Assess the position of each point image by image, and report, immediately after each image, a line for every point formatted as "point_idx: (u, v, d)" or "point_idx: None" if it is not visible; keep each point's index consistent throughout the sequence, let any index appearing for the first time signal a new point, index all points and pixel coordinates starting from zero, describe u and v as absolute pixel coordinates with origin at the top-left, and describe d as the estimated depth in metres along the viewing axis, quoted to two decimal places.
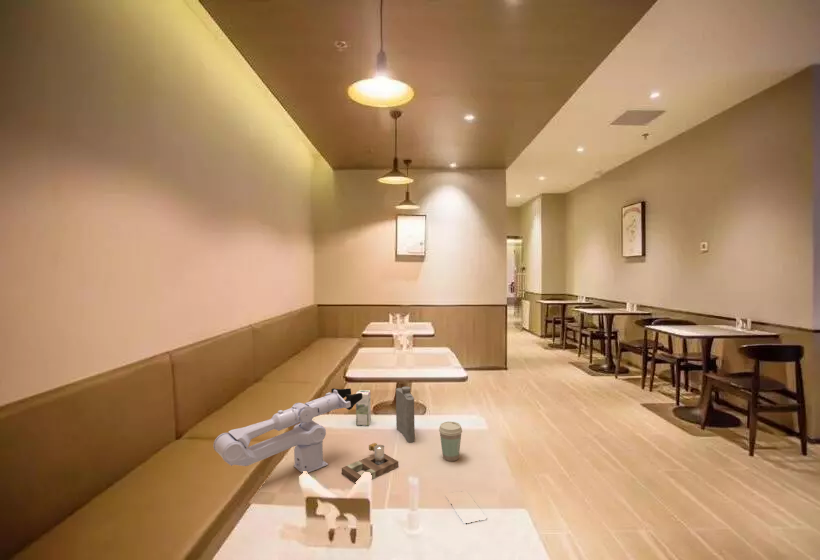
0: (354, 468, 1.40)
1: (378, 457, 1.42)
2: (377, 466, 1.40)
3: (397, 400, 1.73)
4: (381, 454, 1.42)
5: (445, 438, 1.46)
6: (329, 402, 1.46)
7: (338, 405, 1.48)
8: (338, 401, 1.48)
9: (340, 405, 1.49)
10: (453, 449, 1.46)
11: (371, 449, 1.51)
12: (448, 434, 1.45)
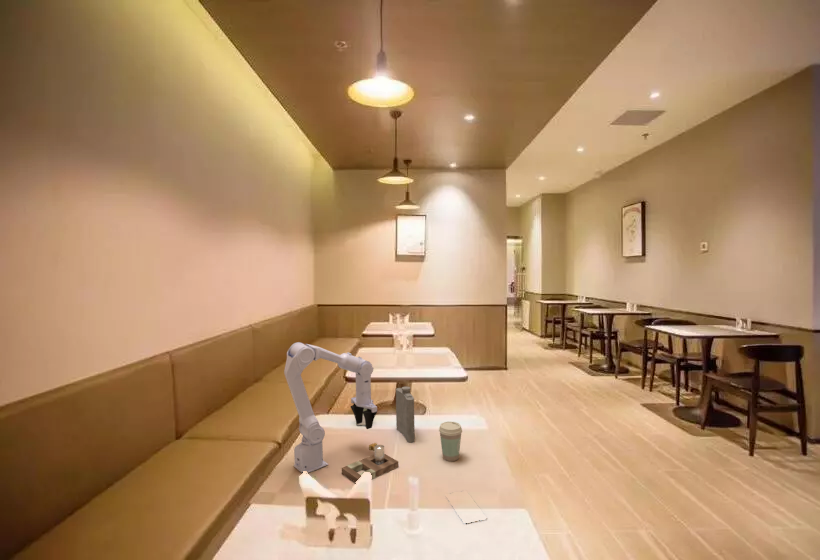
0: (354, 468, 1.40)
1: (378, 457, 1.42)
2: (377, 466, 1.40)
3: (397, 400, 1.73)
4: (381, 454, 1.42)
5: (445, 438, 1.46)
6: (370, 392, 1.54)
7: (365, 403, 1.53)
8: (369, 402, 1.54)
9: (365, 405, 1.53)
10: (453, 449, 1.46)
11: (371, 449, 1.51)
12: (448, 434, 1.45)
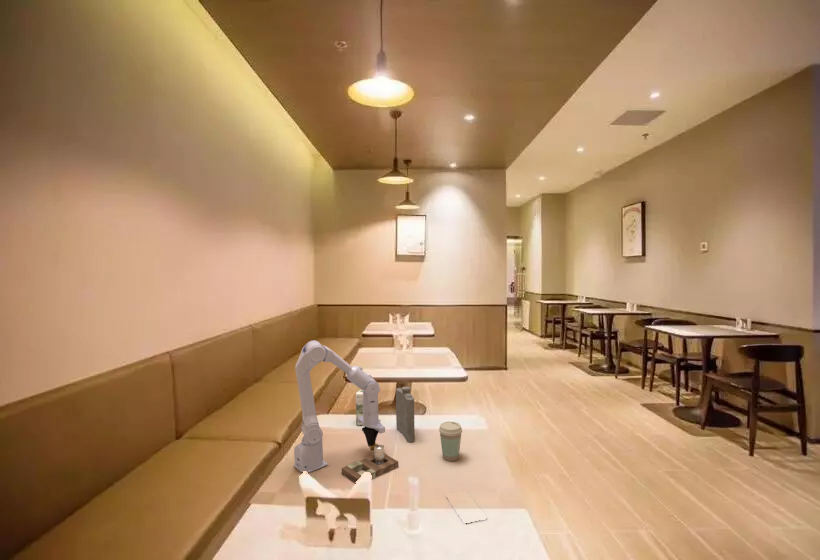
0: (354, 468, 1.40)
1: (378, 457, 1.42)
2: (377, 466, 1.40)
3: (397, 400, 1.73)
4: (381, 454, 1.42)
5: (445, 438, 1.46)
6: (377, 412, 1.51)
7: (373, 423, 1.50)
8: (376, 422, 1.51)
9: (373, 425, 1.50)
10: (453, 449, 1.46)
11: (372, 449, 1.51)
12: (448, 434, 1.45)
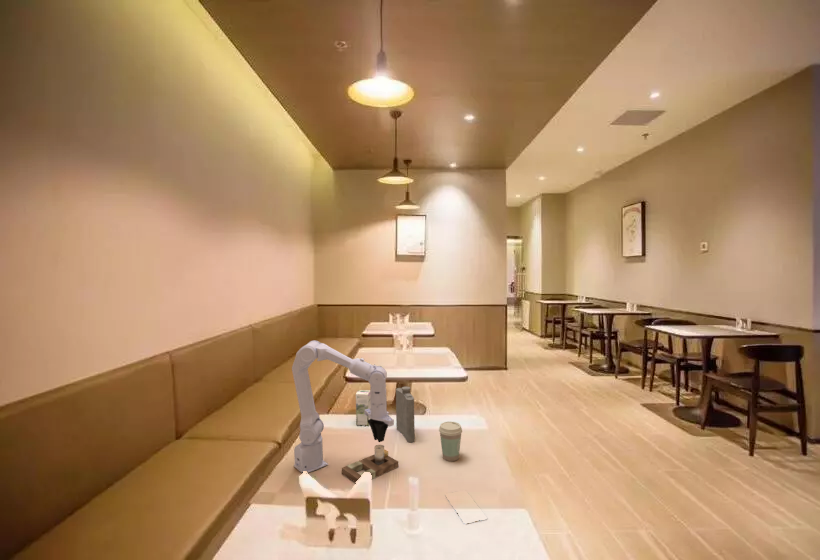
0: (354, 468, 1.40)
1: (378, 457, 1.42)
2: (377, 466, 1.40)
3: (397, 400, 1.73)
4: (381, 454, 1.42)
5: (445, 438, 1.46)
6: (385, 404, 1.42)
7: (381, 416, 1.40)
8: (384, 415, 1.41)
9: (381, 418, 1.40)
10: (453, 449, 1.46)
11: None
12: (448, 434, 1.45)
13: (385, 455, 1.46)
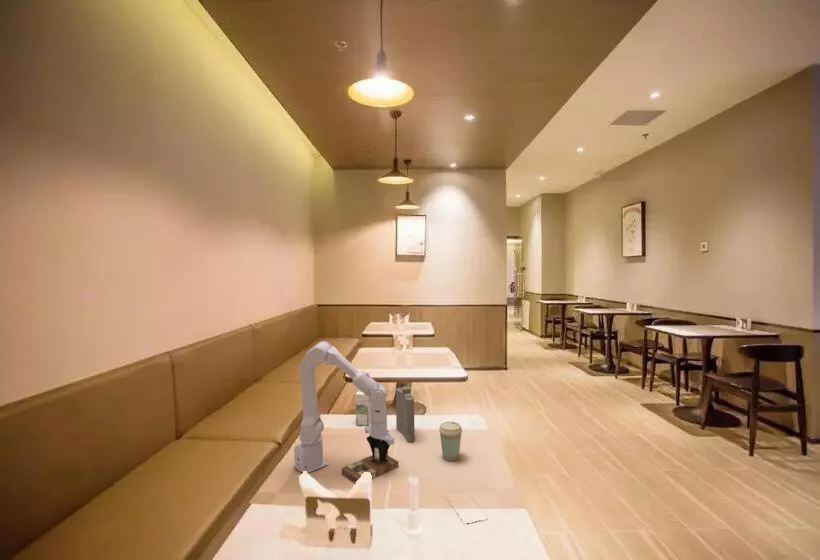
0: (354, 468, 1.40)
1: (378, 457, 1.42)
2: (377, 466, 1.40)
3: (397, 400, 1.73)
4: None
5: (445, 438, 1.46)
6: (386, 422, 1.42)
7: (381, 434, 1.41)
8: (385, 433, 1.42)
9: (381, 436, 1.40)
10: (453, 449, 1.46)
11: None
12: (448, 434, 1.45)
13: None
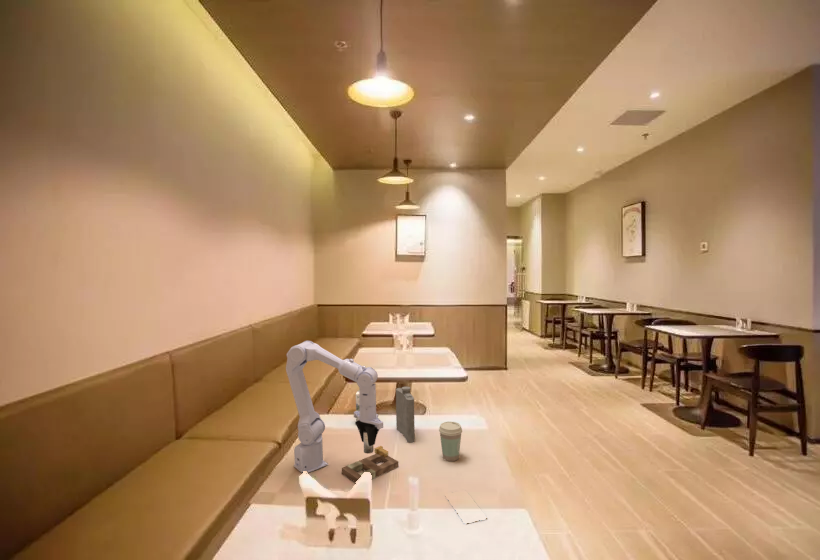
0: (354, 468, 1.40)
1: (367, 442, 1.39)
2: (377, 466, 1.40)
3: (397, 400, 1.73)
4: None
5: (445, 438, 1.46)
6: (375, 406, 1.39)
7: (370, 418, 1.37)
8: (374, 417, 1.38)
9: (370, 420, 1.37)
10: (453, 449, 1.46)
11: (377, 452, 1.48)
12: (448, 434, 1.45)
13: (385, 455, 1.46)
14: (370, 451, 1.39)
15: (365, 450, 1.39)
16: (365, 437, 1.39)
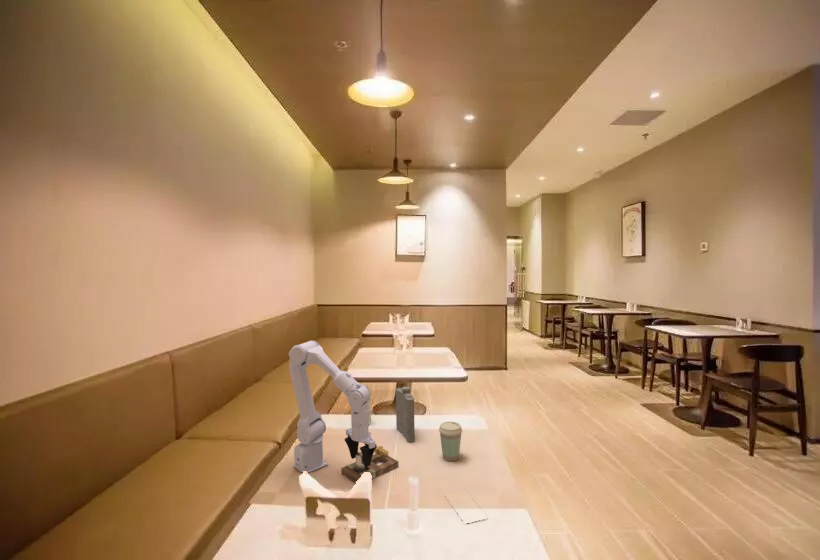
0: (354, 468, 1.40)
1: (360, 465, 1.37)
2: (377, 466, 1.40)
3: (397, 400, 1.73)
4: (362, 462, 1.37)
5: (445, 438, 1.46)
6: (367, 425, 1.37)
7: (362, 437, 1.35)
8: (366, 436, 1.36)
9: (362, 439, 1.35)
10: (453, 449, 1.46)
11: (377, 452, 1.48)
12: (448, 434, 1.45)
13: (385, 455, 1.46)
14: None
15: None
16: (357, 460, 1.37)
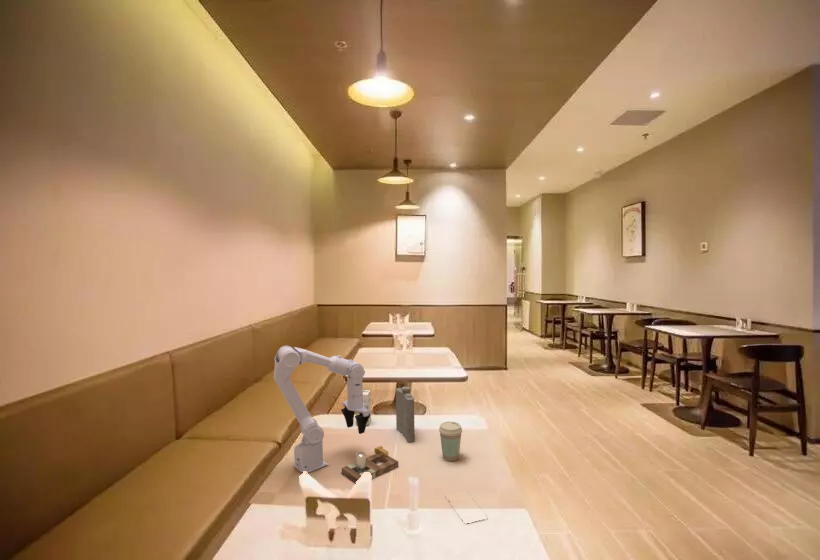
0: (354, 468, 1.40)
1: (360, 465, 1.37)
2: (377, 466, 1.40)
3: (397, 400, 1.73)
4: (362, 462, 1.37)
5: (445, 438, 1.46)
6: (361, 396, 1.51)
7: (357, 407, 1.49)
8: (360, 406, 1.50)
9: (357, 409, 1.49)
10: (453, 449, 1.46)
11: (377, 452, 1.48)
12: (448, 434, 1.45)
13: (385, 455, 1.46)
14: None
15: None
16: (357, 460, 1.37)
